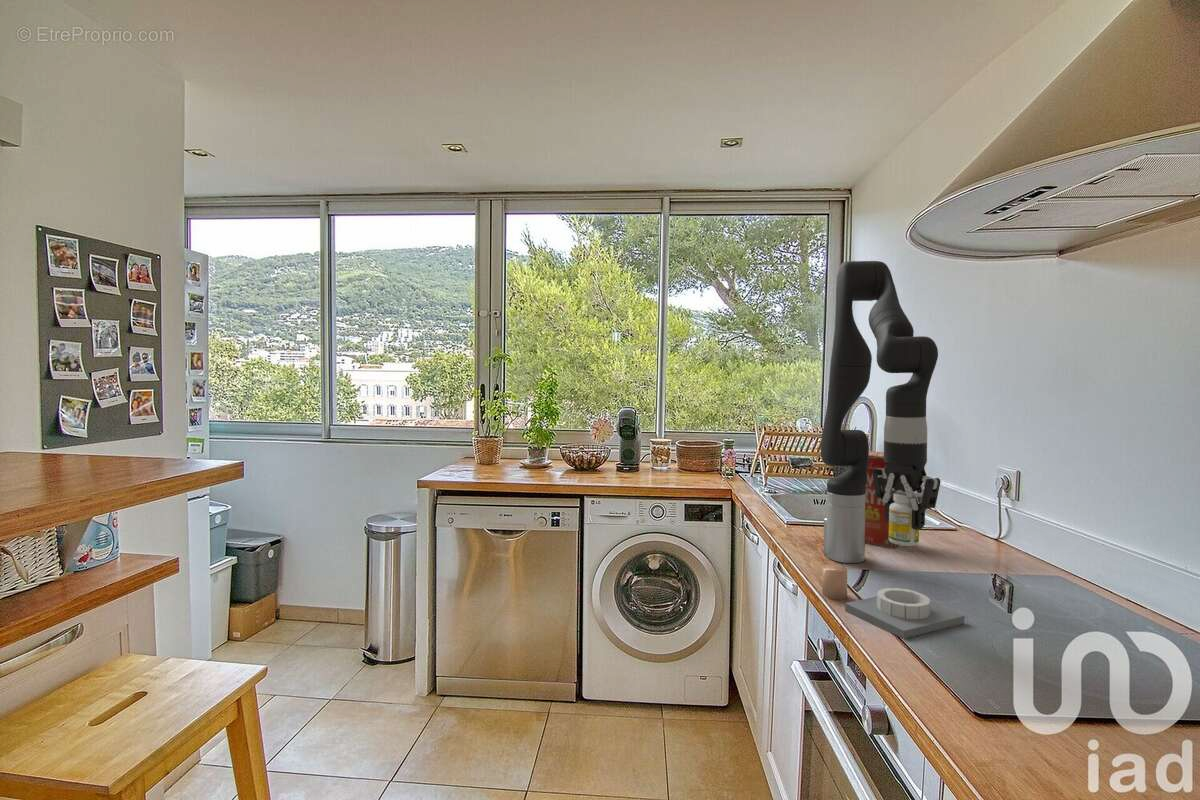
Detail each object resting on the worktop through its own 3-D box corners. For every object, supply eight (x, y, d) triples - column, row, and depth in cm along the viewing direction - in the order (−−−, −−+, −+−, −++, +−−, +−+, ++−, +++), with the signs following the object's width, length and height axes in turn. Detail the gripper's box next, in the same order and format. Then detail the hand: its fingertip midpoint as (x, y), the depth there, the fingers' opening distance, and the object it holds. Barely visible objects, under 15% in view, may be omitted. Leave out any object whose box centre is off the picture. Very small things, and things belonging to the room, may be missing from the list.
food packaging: (844, 539, 170) (845, 452, 168) (857, 532, 176) (858, 449, 175) (894, 549, 160) (895, 457, 159) (906, 541, 167) (907, 453, 166)
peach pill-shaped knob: (817, 593, 130) (817, 566, 130) (834, 589, 132) (835, 563, 132) (834, 601, 126) (834, 573, 126) (852, 597, 128) (852, 570, 127)
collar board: (845, 610, 121) (845, 591, 121) (902, 597, 127) (902, 579, 127) (903, 638, 108) (904, 617, 108) (964, 623, 114) (964, 602, 114)
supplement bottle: (898, 546, 114) (899, 497, 114) (882, 538, 119) (883, 491, 119) (925, 545, 115) (926, 496, 114) (908, 537, 120) (909, 490, 119)
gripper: (952, 442, 111) (951, 532, 112) (888, 434, 124) (887, 514, 125) (924, 444, 108) (922, 537, 109) (861, 436, 121) (860, 518, 122)
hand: (904, 524), depth 117 cm, fingers closed on supplement bottle, 5 cm apart
